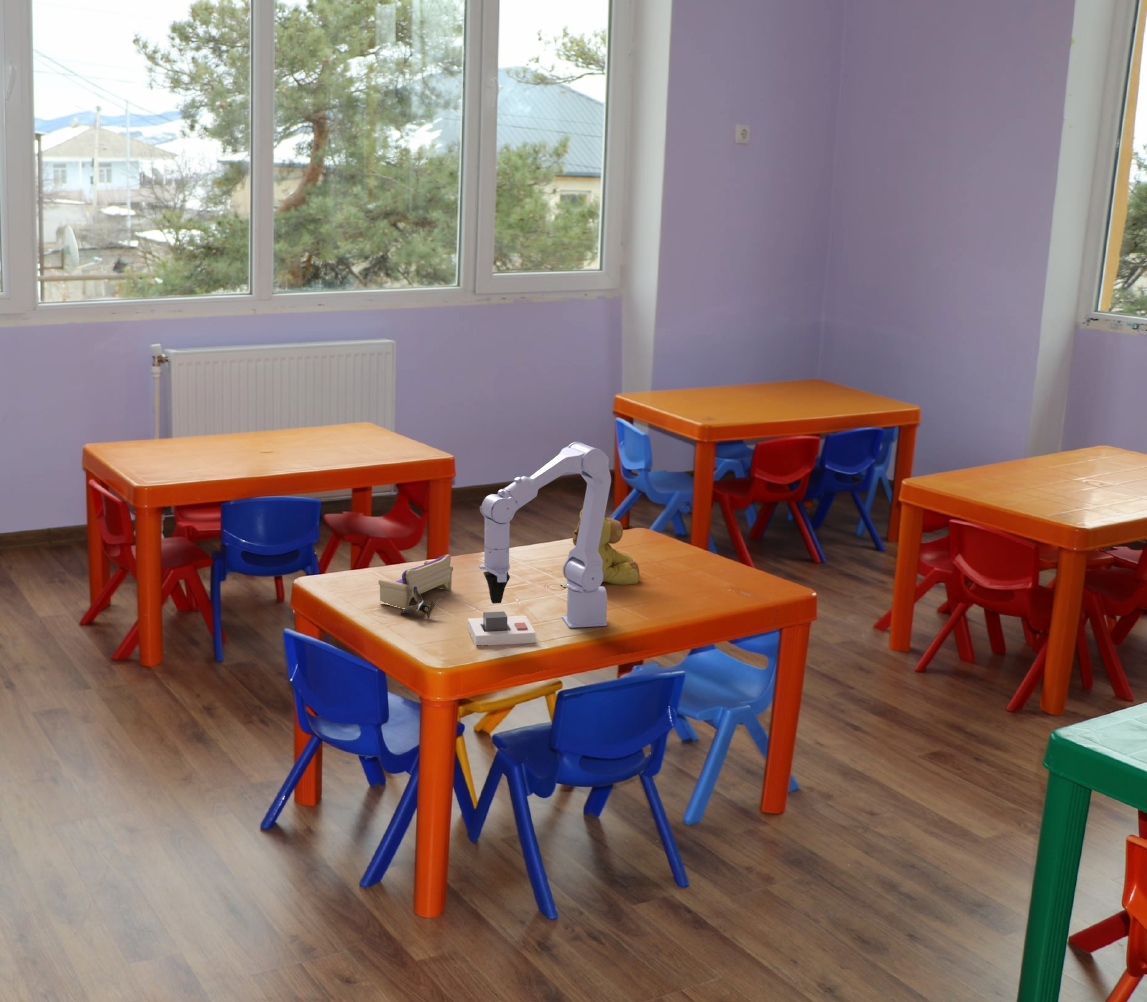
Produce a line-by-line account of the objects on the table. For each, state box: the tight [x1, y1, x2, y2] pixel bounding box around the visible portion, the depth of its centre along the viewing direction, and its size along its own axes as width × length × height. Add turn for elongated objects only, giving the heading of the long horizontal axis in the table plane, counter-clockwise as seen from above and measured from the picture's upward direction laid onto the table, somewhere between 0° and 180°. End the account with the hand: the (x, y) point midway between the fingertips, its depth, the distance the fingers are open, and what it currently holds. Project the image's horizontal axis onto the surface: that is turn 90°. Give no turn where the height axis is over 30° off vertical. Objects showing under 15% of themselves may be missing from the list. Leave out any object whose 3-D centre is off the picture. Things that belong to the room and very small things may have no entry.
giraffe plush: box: [561, 508, 641, 588], centre depth 343 cm, size 20×24×19 cm
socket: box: [467, 615, 537, 647], centre depth 300 cm, size 14×12×3 cm
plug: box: [482, 610, 508, 632], centre depth 299 cm, size 5×4×5 cm
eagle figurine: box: [400, 586, 441, 619], centre depth 312 cm, size 8×7×9 cm
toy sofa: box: [378, 553, 454, 609], centre depth 325 cm, size 21×9×10 cm, turn 151°
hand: (496, 602), depth 297 cm, fingers closed
